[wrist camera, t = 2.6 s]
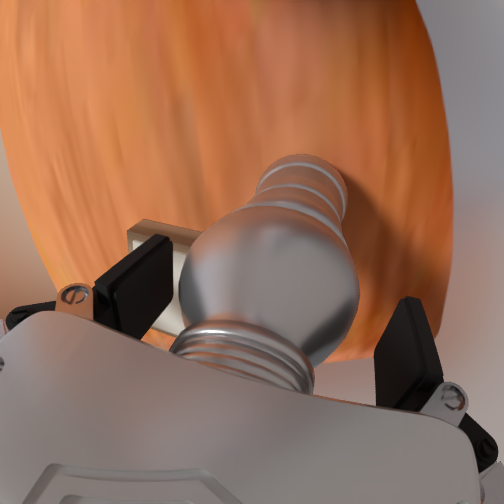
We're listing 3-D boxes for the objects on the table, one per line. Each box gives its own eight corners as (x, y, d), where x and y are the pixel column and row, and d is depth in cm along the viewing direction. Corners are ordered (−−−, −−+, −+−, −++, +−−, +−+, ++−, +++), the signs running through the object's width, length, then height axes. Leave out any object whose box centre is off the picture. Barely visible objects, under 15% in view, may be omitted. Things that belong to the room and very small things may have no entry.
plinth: (143, 218, 28) (125, 231, 25) (258, 245, 26) (248, 263, 24) (150, 308, 34) (136, 324, 31) (243, 337, 32) (234, 358, 29)
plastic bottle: (347, 224, 23) (354, 479, 6) (269, 227, 25) (155, 448, 8) (342, 147, 21) (406, 329, 3) (257, 153, 22) (55, 306, 5)
